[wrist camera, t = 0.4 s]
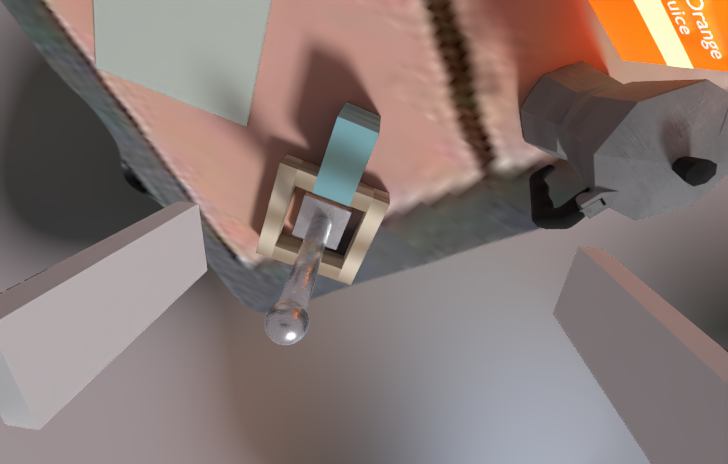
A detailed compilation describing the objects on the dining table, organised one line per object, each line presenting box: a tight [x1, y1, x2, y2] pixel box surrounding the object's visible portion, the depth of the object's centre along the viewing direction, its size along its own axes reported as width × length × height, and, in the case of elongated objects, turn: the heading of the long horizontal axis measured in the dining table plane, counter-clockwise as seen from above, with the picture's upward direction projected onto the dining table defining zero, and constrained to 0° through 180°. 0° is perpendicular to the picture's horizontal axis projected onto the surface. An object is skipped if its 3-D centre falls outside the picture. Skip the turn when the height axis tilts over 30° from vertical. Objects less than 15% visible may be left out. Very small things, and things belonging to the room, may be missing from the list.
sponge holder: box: [256, 102, 390, 285], centre depth 38 cm, size 21×13×7 cm, turn 159°
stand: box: [265, 190, 353, 345], centre depth 35 cm, size 6×6×20 cm
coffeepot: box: [520, 61, 728, 229], centre depth 28 cm, size 15×9×18 cm, turn 133°
